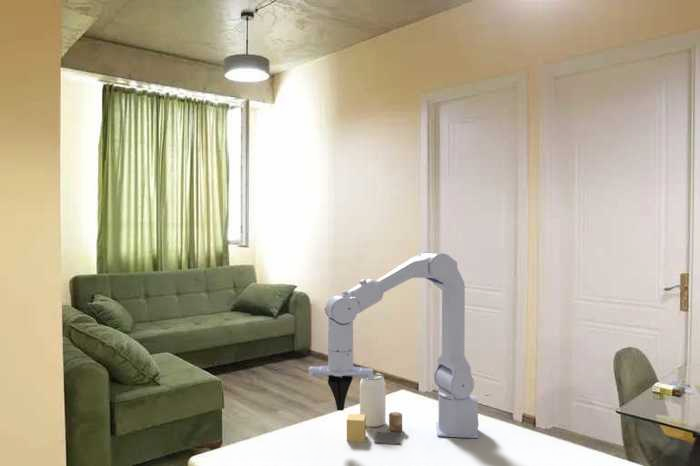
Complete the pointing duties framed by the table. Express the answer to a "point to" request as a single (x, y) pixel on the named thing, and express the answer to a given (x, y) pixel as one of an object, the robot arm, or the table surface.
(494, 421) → the table surface
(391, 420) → the cork cylinder
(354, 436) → the ochre block
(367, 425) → the can
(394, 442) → the coaster
